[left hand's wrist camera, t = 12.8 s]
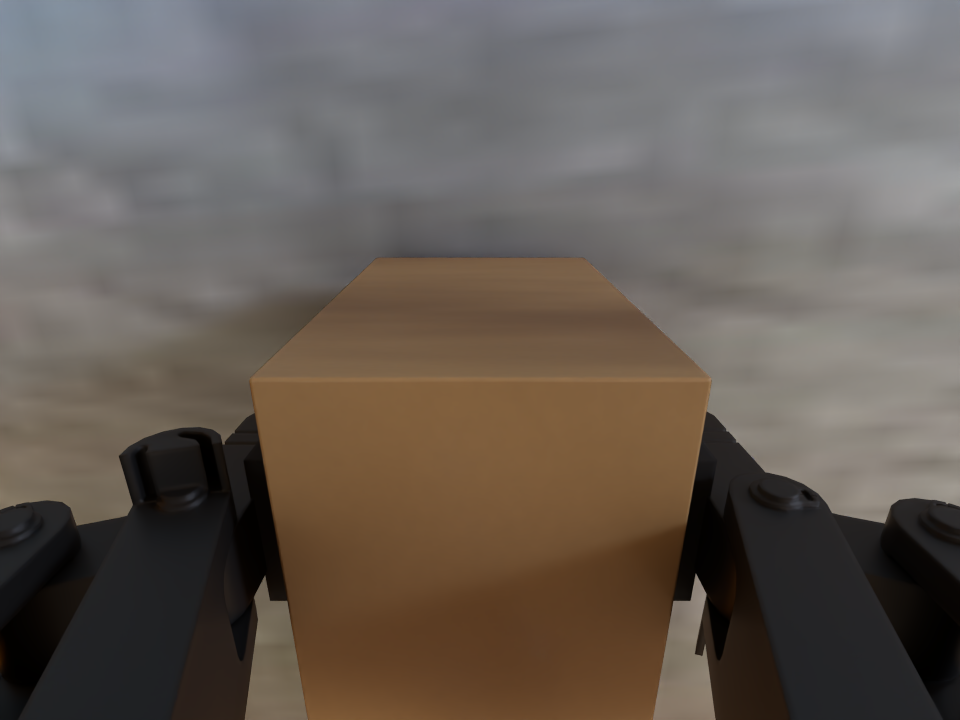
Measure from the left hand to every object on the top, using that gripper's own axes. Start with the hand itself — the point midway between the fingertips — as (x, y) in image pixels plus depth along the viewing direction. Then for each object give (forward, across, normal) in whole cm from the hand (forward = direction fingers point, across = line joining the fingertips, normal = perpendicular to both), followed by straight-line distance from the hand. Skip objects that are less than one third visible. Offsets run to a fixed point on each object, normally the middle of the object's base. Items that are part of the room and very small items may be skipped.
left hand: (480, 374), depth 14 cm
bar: (+1, 0, -14) cm, 14 cm away
